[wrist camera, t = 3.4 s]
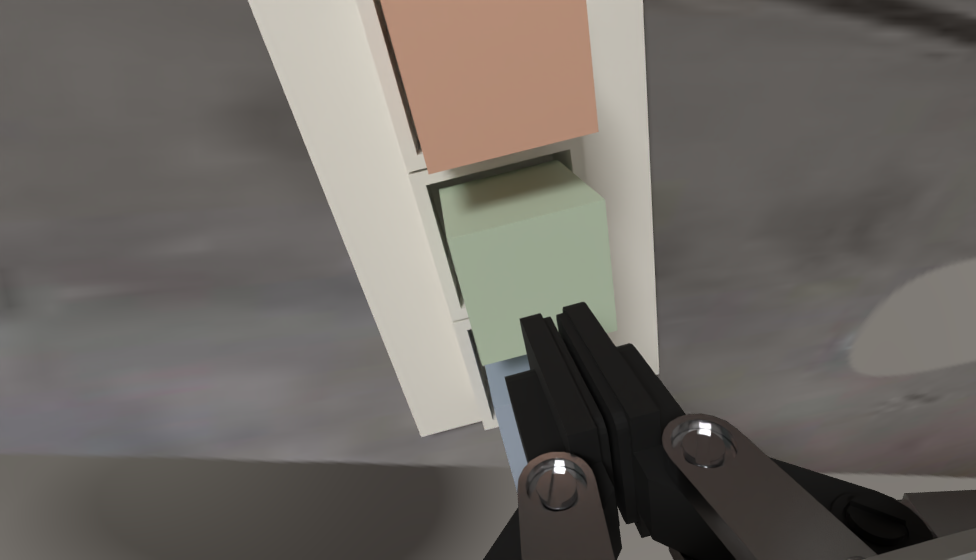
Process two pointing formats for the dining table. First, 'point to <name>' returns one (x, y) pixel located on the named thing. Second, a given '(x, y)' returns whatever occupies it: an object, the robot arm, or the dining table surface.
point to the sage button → (527, 252)
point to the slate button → (507, 409)
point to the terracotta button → (493, 75)
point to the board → (415, 194)
